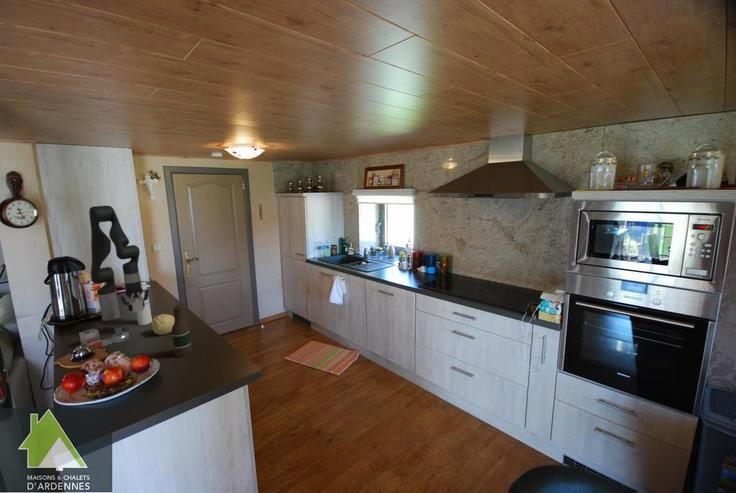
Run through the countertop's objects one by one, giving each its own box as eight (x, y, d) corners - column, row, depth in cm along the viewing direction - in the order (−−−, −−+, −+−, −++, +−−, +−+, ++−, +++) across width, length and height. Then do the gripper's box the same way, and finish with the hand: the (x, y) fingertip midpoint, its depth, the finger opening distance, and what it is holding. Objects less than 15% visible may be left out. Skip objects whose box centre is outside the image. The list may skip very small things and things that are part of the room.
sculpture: (150, 333, 188) (147, 315, 186) (173, 326, 197) (171, 309, 195) (156, 339, 180) (153, 320, 178) (180, 331, 189) (178, 313, 187)
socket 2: (130, 310, 190) (128, 299, 188) (140, 308, 193) (139, 297, 192) (133, 312, 186) (131, 301, 185) (143, 309, 190) (142, 299, 189)
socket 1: (81, 345, 176) (78, 331, 175) (94, 340, 181) (92, 327, 180) (87, 347, 173) (85, 333, 172) (100, 342, 179) (98, 329, 177)
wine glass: (75, 350, 169) (72, 337, 168) (126, 335, 186) (124, 323, 185) (79, 355, 164) (76, 341, 163) (131, 339, 181) (129, 326, 180)
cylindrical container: (145, 325, 200) (138, 285, 196) (135, 324, 201) (128, 285, 197) (155, 320, 207) (149, 281, 202) (145, 320, 208) (139, 281, 204)
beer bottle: (180, 358, 158) (173, 310, 154) (171, 354, 162) (164, 308, 158) (195, 351, 164) (189, 305, 160) (186, 348, 169) (180, 303, 164)
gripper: (144, 276, 194) (148, 304, 198) (115, 282, 184) (119, 311, 187) (149, 279, 190) (153, 307, 193) (119, 285, 179) (124, 314, 182)
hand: (136, 309), depth 190 cm, fingers closed on socket 2, 5 cm apart
